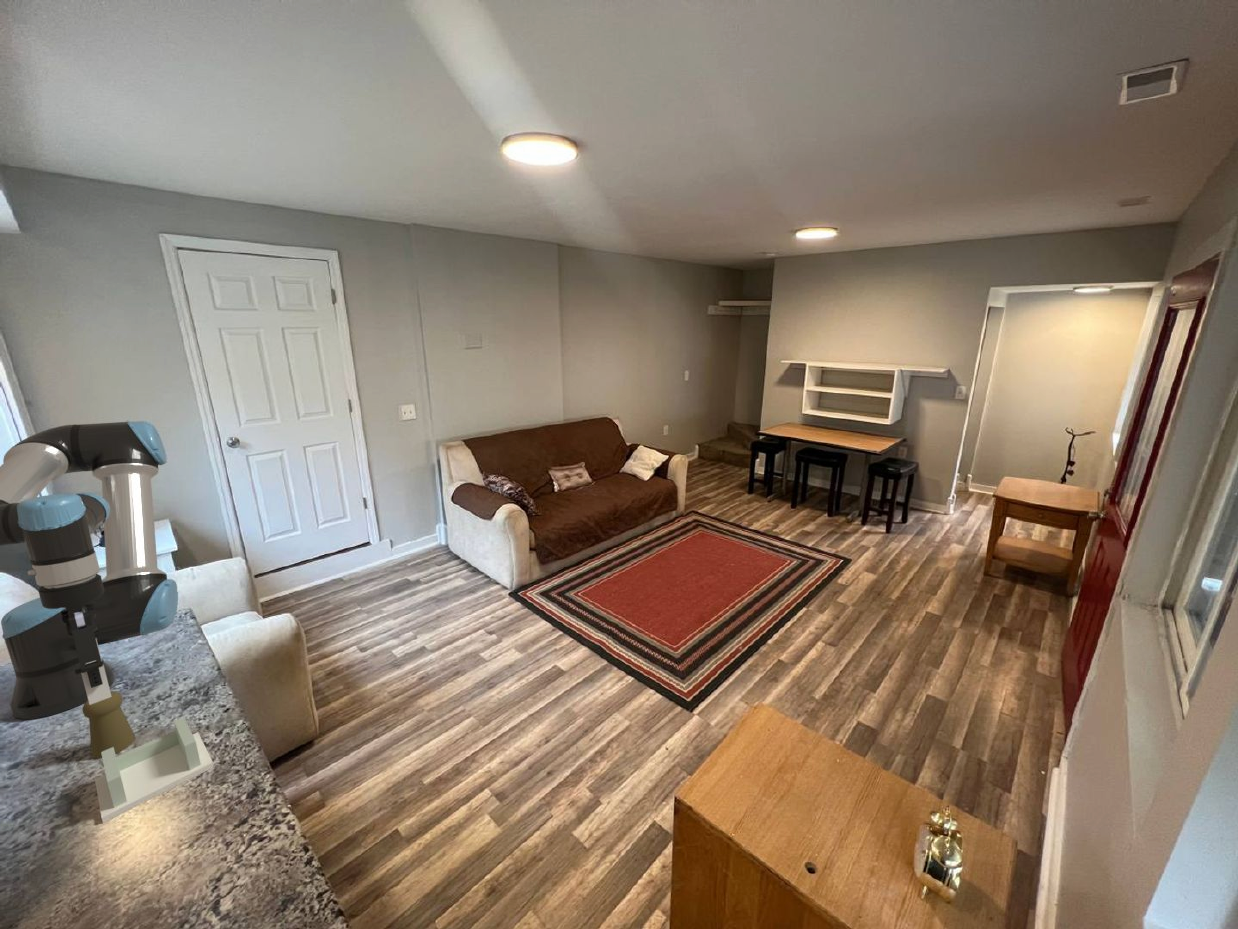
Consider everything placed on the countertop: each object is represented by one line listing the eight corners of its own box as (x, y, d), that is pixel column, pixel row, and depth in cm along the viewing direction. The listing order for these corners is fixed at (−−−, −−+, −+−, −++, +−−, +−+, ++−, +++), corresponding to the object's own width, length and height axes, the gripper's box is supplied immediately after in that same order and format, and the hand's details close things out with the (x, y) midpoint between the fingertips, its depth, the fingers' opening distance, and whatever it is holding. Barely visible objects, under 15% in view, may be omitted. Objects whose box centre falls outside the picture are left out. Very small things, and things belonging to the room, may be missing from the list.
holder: (96, 783, 84) (88, 754, 83) (199, 736, 95) (193, 710, 93) (103, 823, 77) (94, 792, 75) (213, 767, 87) (207, 738, 86)
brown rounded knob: (106, 761, 89) (92, 709, 87) (82, 756, 90) (68, 705, 88) (144, 736, 95) (131, 688, 93) (120, 732, 96) (108, 684, 94)
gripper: (36, 570, 90) (63, 670, 95) (38, 608, 75) (70, 726, 79) (94, 558, 96) (117, 652, 100) (107, 591, 81) (134, 701, 85)
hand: (97, 685), depth 90 cm, fingers open, 13 cm apart
